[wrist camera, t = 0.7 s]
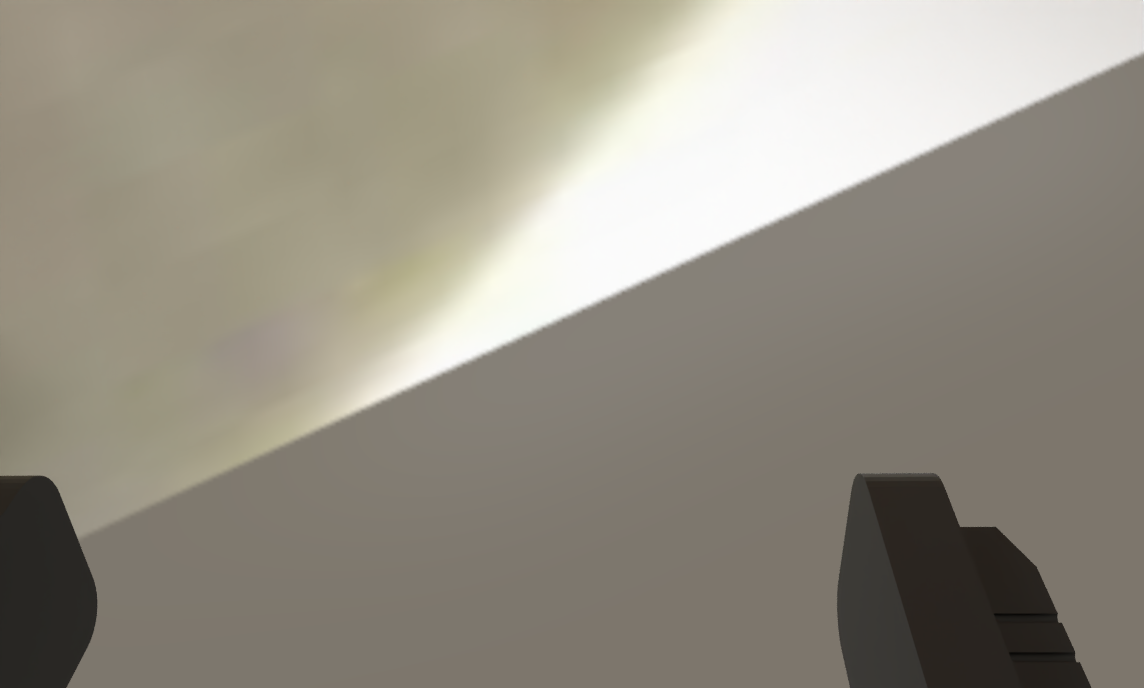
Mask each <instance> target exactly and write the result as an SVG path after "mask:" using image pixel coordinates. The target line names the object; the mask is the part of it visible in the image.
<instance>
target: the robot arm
mask: <svg viewBox="0 0 1144 688" xmlns="http://www.w3.org/2000/svg"><path fill="white" fill-rule="evenodd" d="M837 612H838V628H839V636H840V643H841V649H842V653H843V658H844V662H845V667H846V671H847V676H848V680H849V685H850V688H1091V686H1090V684H1089V682H1088V679H1087V677H1086V675H1085V673H1084V671H1083V668H1082V666H1081V664H1080V662H1079V663H1078V662H1076V660H1075V651H1074V648H1073V646H1072V644H1071V642H1070V640H1069V637H1068V636H1067V633H1066V631H1065V629H1064V626H1063V624H1062V623H1058V619H1057V614H1058V613H1057V611H1056V609H1055V607H1054V604H1053V602H1052V600H1051V598H1050V596H1049V593H1048V591H1047V589H1046V587H1045V585H1044V582H1043V580H1042V578H1041V576H1040V574H1039V572H1038V569H1037V567H1036V566H1035V565H1034V564H1033V563H1032V562H1031V561H1030V560H1029V559H1028V558H1027V557H1026V556H1025V555H1024V554H1023V553H1022V552H1021V551H1020V550H1019V549H1018V548H1017V547H1016V546H1014V544H1013V543H1011V541H1010V540H1009V539H1008V538H1007V537H1006V536H1005V535H1003V534H1002V533H1001V532H1000V531H999V530H998V529H997V528H996V527H960V526H959V524H958V521H957V518H956V516H955V513H954V511H953V508H952V506H951V503H950V500H949V498H948V495H947V493H946V490H945V488H944V485H943V483H942V481H941V479H940V478H939V476H937V475H936V474H934V473H896V474H895V473H892V474H891V473H889V474H888V473H882V474H857V475H856V477H855V479H854V482H853V486H852V491H851V498H850V505H849V512H848V518H847V526H846V532H845V539H844V546H843V553H842V560H841V567H840V574H839V581H838V592H837ZM96 616H97V592H96V587H95V583H94V580H93V577H92V574H91V572H90V569H89V567H88V564H87V562H86V559H85V557H84V554H83V552H82V549H81V547H80V544H79V541H78V539H77V536H76V534H75V531H74V529H73V526H72V524H71V521H70V519H69V516H68V514H67V511H66V508H65V506H64V503H63V501H62V498H61V496H60V493H59V491H58V489H57V487H56V486H55V484H54V483H53V482H52V481H51V480H50V479H49V478H47V477H45V476H0V688H66V687H67V685H68V683H69V681H70V680H71V678H72V676H73V674H74V672H75V670H76V668H77V666H78V664H79V662H80V660H81V658H82V656H83V655H84V652H85V651H86V649H87V647H88V644H89V643H90V640H91V637H92V634H93V631H94V627H95V622H96Z"/></svg>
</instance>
